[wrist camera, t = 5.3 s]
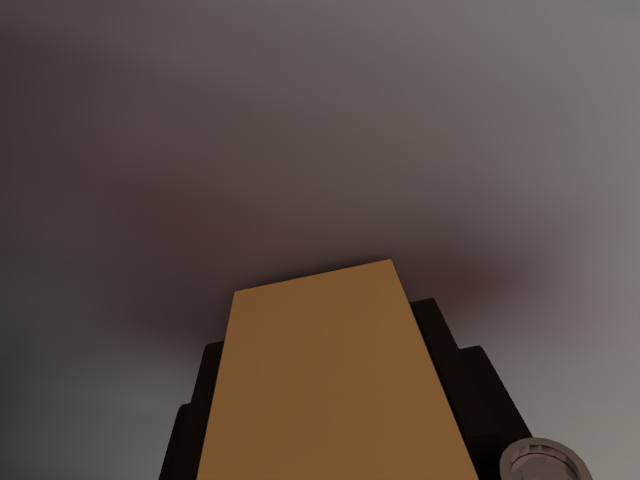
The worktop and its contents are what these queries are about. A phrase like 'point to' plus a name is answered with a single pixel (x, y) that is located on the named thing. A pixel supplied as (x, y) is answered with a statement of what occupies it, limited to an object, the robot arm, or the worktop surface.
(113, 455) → the worktop surface
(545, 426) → the worktop surface
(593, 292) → the worktop surface
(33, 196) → the worktop surface
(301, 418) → the tool
